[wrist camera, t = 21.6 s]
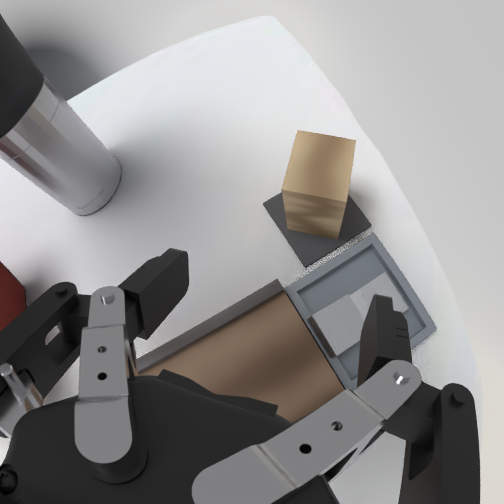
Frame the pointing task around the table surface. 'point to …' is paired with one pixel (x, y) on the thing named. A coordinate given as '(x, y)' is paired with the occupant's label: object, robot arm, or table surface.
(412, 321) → the tray
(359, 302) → the chip
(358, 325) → the chip
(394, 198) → the table surface
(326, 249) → the mat
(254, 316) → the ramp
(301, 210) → the tall wooden block
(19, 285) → the plant pot
